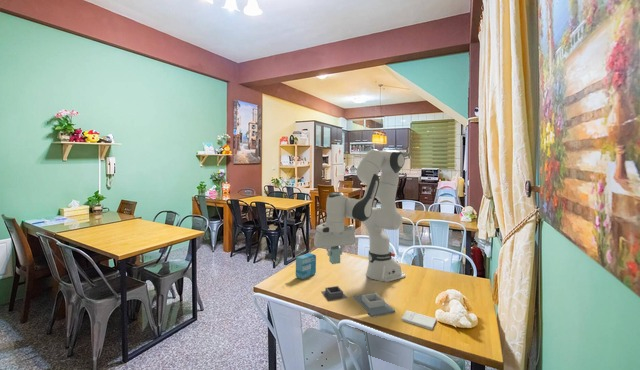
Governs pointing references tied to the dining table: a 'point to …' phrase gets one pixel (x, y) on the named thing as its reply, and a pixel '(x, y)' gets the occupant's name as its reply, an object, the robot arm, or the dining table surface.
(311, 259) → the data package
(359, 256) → the dining table surface
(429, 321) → the external hard drive
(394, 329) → the dining table surface
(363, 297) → the dock
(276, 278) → the dining table surface
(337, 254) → the plug
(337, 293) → the dark grey square box
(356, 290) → the dining table surface
